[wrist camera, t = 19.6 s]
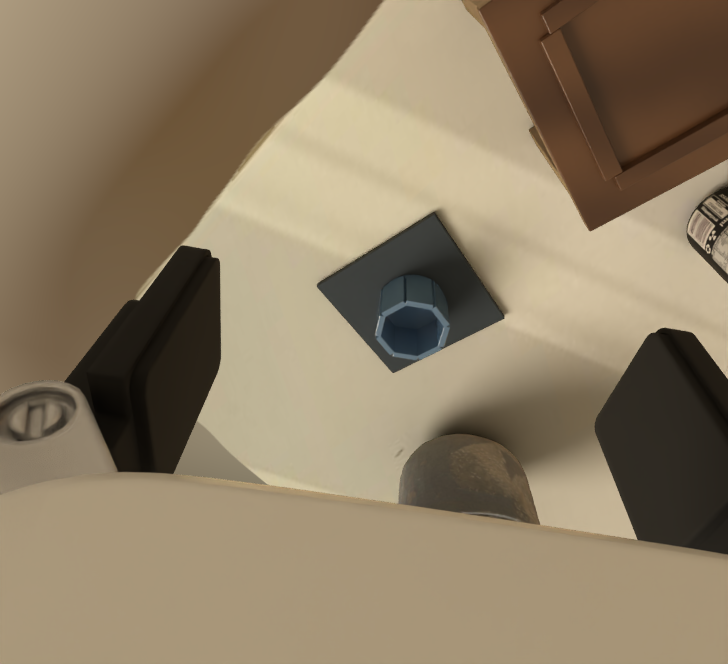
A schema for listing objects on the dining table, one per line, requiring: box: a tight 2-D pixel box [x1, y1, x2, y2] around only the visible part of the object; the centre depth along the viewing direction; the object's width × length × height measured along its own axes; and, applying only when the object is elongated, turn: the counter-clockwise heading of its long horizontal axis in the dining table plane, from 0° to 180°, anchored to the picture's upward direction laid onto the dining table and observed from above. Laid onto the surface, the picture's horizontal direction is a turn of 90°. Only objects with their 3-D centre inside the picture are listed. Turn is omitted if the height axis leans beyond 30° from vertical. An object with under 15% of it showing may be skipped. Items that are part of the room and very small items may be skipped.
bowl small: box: [375, 275, 450, 360], centre depth 51 cm, size 7×7×5 cm
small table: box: [462, 0, 728, 231], centre depth 31 cm, size 14×14×17 cm
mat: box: [317, 212, 504, 373], centre depth 53 cm, size 14×14×1 cm
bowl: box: [399, 434, 540, 525], centre depth 61 cm, size 18×18×15 cm
